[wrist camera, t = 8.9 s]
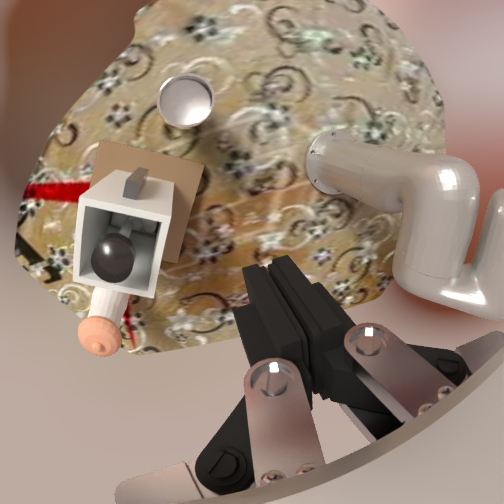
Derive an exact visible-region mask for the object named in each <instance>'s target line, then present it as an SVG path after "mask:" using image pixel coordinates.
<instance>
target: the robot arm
mask: <svg viewBox="0 0 504 504" xmlns="http://www.w3.org/2000/svg"><path fill="white" fill-rule="evenodd" d="M311 151H312V153H311ZM305 169H306V173H307V176H308V178H309V180H310V182H311V183H312V184H313V186H314V187H316V188H317V189H318V190H320V191H322V192H324V193H326V194H331V195H336V194H341V193H344V194H346V195H349V196H351V197H353V198H355V199H357V200H359V201H361V202H363V203H365V204H367V205H369V206H370V207H372V208H374V209H376V210H378V211H381V212H384V213H399V212H402V217H401V225H400V230H399V234H398V239H397V244H396V248H395V253H394V258H393V263H392V273H393V277H394V279H395V281H396V282H397V283H398V285H399V286H401V287H402V288H403V289H405V290H406V291H408V292H410V293H412V294H414V295H416V296H419V297H421V298H424V299H427V300H430V301H433V302H436V303H439V304H442V305H446V306H449V307H452V308H455V309H458V310H461V311H464V312H467V313H470V314H473V315H476V316H479V317H483V318H487V319H491V320H504V188H503V189H499V190H497V191H495V192H494V193H493V195H492V197H491V199H490V201H489V204H488V207H487V211H486V215H485V218H484V222H483V227H482V230H481V234H480V237H479V241H478V244H477V248H476V252H475V255H474V258H473V260H472V262H471V263H469V264H463V263H464V260H465V257H466V253H467V250H468V247H469V243H470V241H471V238H472V234H473V229H474V226H475V222H476V218H477V213H478V208H479V201H480V186H479V180H478V177H477V174H476V172H475V170H474V169H473V168H472V167H471V166H470V165H469V164H468V163H467V162H465V161H464V160H462V159H459V158H456V157H454V156H449V155H443V154H425V153H414V152H408V151H403V150H398V149H393V148H388V147H383V146H379V145H373V144H368V143H363V142H357V141H356V140H355V139H354V138H353V137H352V136H351V135H349V134H348V133H346V132H343V131H338V130H330V131H326V132H323V133H321V134H319V135H318V136H317V137H316V138H315V139H314V140H313V141H312V142H311V144H310V145H309V147H308V150H307V152H306V156H305ZM314 180H315V181H314ZM268 270H269V273H268V271H267V270H266V268H265V267H264V266H262V267H259V266H258V264H254V265H251V266H247V267H244V268H242V271H243V276H244V280H245V284H246V288H247V293H248V297H249V301H250V304H248V305H245V306H241V307H238V308H234V309H232V310H233V314H234V317H235V320H236V324H237V327H238V330H239V334H240V337H241V339H242V343H243V346H244V349H245V352H246V355H247V358H248V361H249V364H250V367H251V368H250V369H249V370H248V371H247V373H246V375H245V378H244V391H245V395H244V397H243V398H242V399H241V401H240V402H239V404H238V405H237V406H236V408H235V409H234V410H233V412H232V413H231V414H230V416H229V417H228V418H227V420H226V421H225V423H224V424H223V425H222V426H221V428H220V429H219V430H218V432H217V433H216V434H215V436H214V437H213V438H212V440H211V441H210V442H209V443H208V445H207V446H206V447H205V448H204V450H203V451H202V452H201V454H200V455H199V457H198V458H197V459H196V460H193V461H191V462H188V463H185V462H181V463H178V464H175V465H173V466H170V467H167V468H164V469H161V470H158V471H155V472H151V473H148V474H145V475H142V476H138V477H135V478H131V479H128V480H126V481H123V482H121V483H120V485H119V486H118V487H117V488H116V491H115V502H116V504H504V333H503V332H500V331H494V332H490V333H488V334H486V335H484V336H482V337H480V338H478V339H475V340H473V341H471V342H469V343H466V344H464V345H461V346H459V347H457V348H456V350H455V351H451V350H447V349H439V348H432V347H424V346H417V345H411V344H406V343H404V342H403V341H402V340H401V339H399V338H398V337H397V336H396V335H395V334H393V333H392V332H391V331H390V330H388V329H387V328H386V327H384V326H382V325H379V324H376V323H362V324H359V325H356V324H355V323H354V322H353V321H352V320H351V318H350V317H349V316H348V315H347V314H346V313H345V311H344V310H343V309H342V308H341V306H340V305H339V304H338V303H337V302H336V300H335V299H334V298H333V297H332V296H331V295H330V293H329V292H328V291H327V290H326V289H325V287H324V286H323V285H322V284H321V283H319V282H317V283H314V284H311V283H310V282H309V280H308V279H307V278H306V277H305V275H304V274H303V273H302V272H301V270H300V269H299V268H298V267H297V266H296V264H295V263H294V262H293V261H292V259H291V258H290V257H289V256H288V255H285V256H282V257H278V258H275V259H273V260H272V264H269V265H268ZM312 392H313V393H314V394H317V393H319V394H320V395H321V397H322V399H323V400H325V399H327V398H330V400H331V401H333V402H337V403H339V405H340V406H341V408H342V410H343V411H344V412H345V413H346V414H347V416H348V417H349V418H350V419H351V421H352V422H353V423H354V424H355V425H356V427H357V428H358V429H359V430H360V431H361V432H362V434H363V435H364V436H365V437H366V438H367V439H368V441H369V442H370V443H371V444H370V445H368V446H366V447H364V448H362V449H360V450H358V451H356V452H354V453H351V454H349V455H347V456H345V457H343V458H340V459H338V460H336V461H334V462H331V463H329V464H325V460H324V457H323V453H322V450H321V446H320V442H319V439H318V435H317V431H316V428H315V424H314V421H313V417H312V414H311V410H312V409H313V408H312Z"/></svg>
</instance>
